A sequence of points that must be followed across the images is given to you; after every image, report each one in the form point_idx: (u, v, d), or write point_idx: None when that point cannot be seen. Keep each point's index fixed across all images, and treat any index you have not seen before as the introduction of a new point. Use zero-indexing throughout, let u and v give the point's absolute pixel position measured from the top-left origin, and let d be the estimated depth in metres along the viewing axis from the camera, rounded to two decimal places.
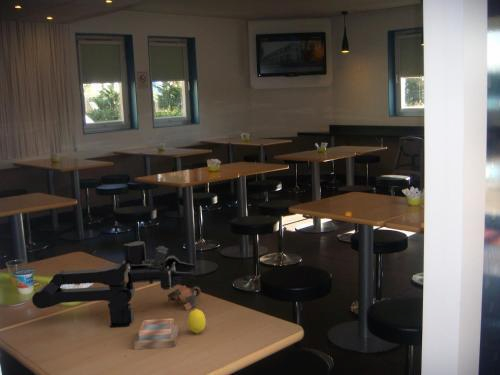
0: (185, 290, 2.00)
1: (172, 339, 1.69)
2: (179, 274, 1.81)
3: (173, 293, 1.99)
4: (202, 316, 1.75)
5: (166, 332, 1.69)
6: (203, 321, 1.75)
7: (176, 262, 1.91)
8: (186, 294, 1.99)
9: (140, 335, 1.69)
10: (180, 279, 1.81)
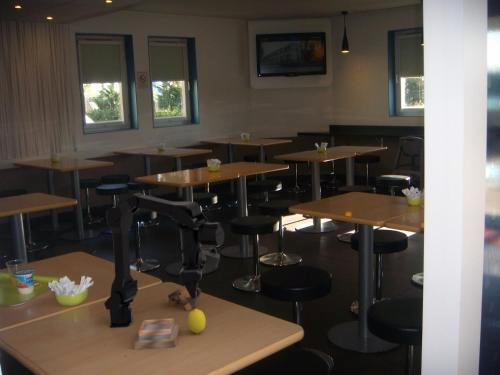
0: (185, 291, 1.99)
1: (172, 339, 1.69)
2: (194, 285, 1.69)
3: (173, 294, 1.98)
4: (202, 316, 1.75)
5: (166, 332, 1.69)
6: (203, 321, 1.75)
7: (199, 268, 1.80)
8: (186, 295, 1.98)
9: (140, 335, 1.69)
10: (189, 286, 1.69)
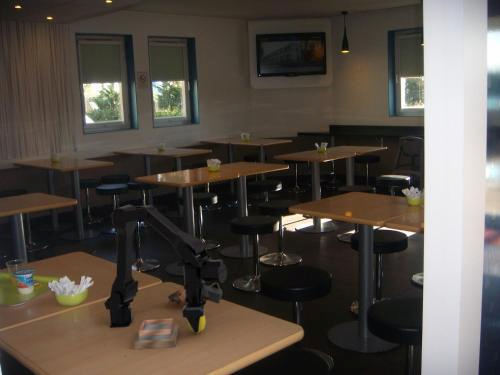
0: None
1: (172, 339, 1.69)
2: (197, 320, 1.72)
3: (174, 294, 1.98)
4: (202, 316, 1.75)
5: (166, 332, 1.69)
6: (203, 321, 1.75)
7: None
8: None
9: (140, 335, 1.69)
10: (192, 321, 1.72)
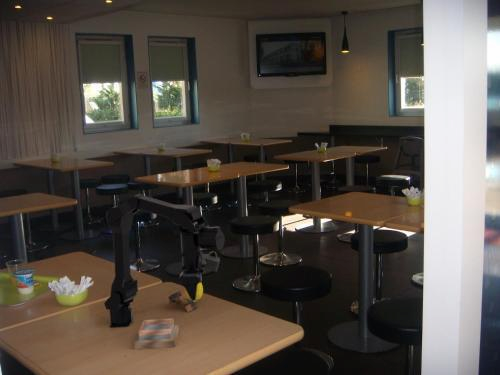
0: None
1: (172, 339, 1.69)
2: (194, 287, 1.71)
3: (174, 295, 1.97)
4: (199, 284, 1.74)
5: (166, 332, 1.69)
6: (200, 289, 1.74)
7: None
8: None
9: (140, 335, 1.69)
10: (189, 288, 1.71)
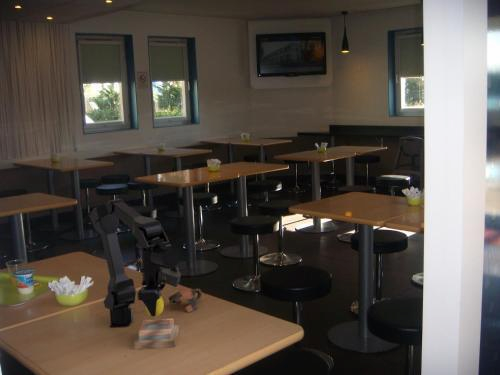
0: (186, 292, 1.98)
1: (172, 339, 1.69)
2: (154, 303, 1.68)
3: (174, 295, 1.96)
4: (160, 299, 1.71)
5: (166, 332, 1.69)
6: (161, 305, 1.71)
7: (160, 288, 1.75)
8: (187, 296, 1.96)
9: (140, 335, 1.69)
10: (148, 304, 1.68)
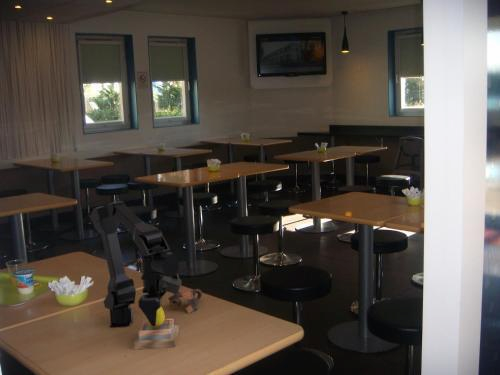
0: (186, 293, 1.97)
1: (172, 339, 1.69)
2: (154, 313, 1.67)
3: (174, 296, 1.96)
4: (160, 311, 1.72)
5: (166, 332, 1.69)
6: (161, 316, 1.72)
7: (161, 293, 1.77)
8: (188, 297, 1.96)
9: (140, 335, 1.69)
10: (148, 314, 1.67)
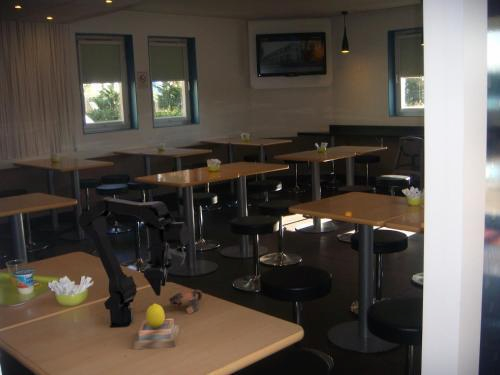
0: (187, 293, 1.96)
1: (172, 339, 1.69)
2: (159, 283, 1.73)
3: (175, 297, 1.95)
4: (161, 311, 1.72)
5: (166, 332, 1.69)
6: (162, 316, 1.72)
7: (167, 266, 1.84)
8: (188, 298, 1.95)
9: (140, 335, 1.69)
10: (153, 284, 1.74)
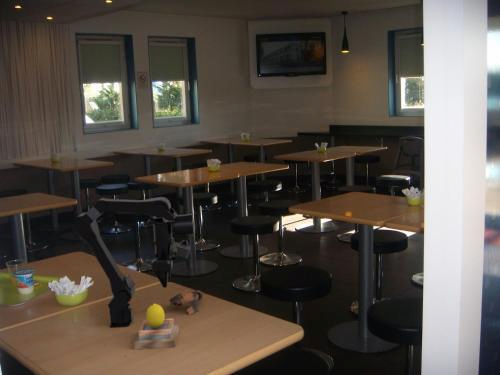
0: (187, 294, 1.96)
1: (172, 339, 1.69)
2: (166, 275, 1.81)
3: (175, 297, 1.94)
4: (161, 311, 1.72)
5: (166, 332, 1.69)
6: (162, 316, 1.72)
7: (172, 259, 1.91)
8: (189, 298, 1.94)
9: (140, 335, 1.69)
10: (160, 276, 1.81)
